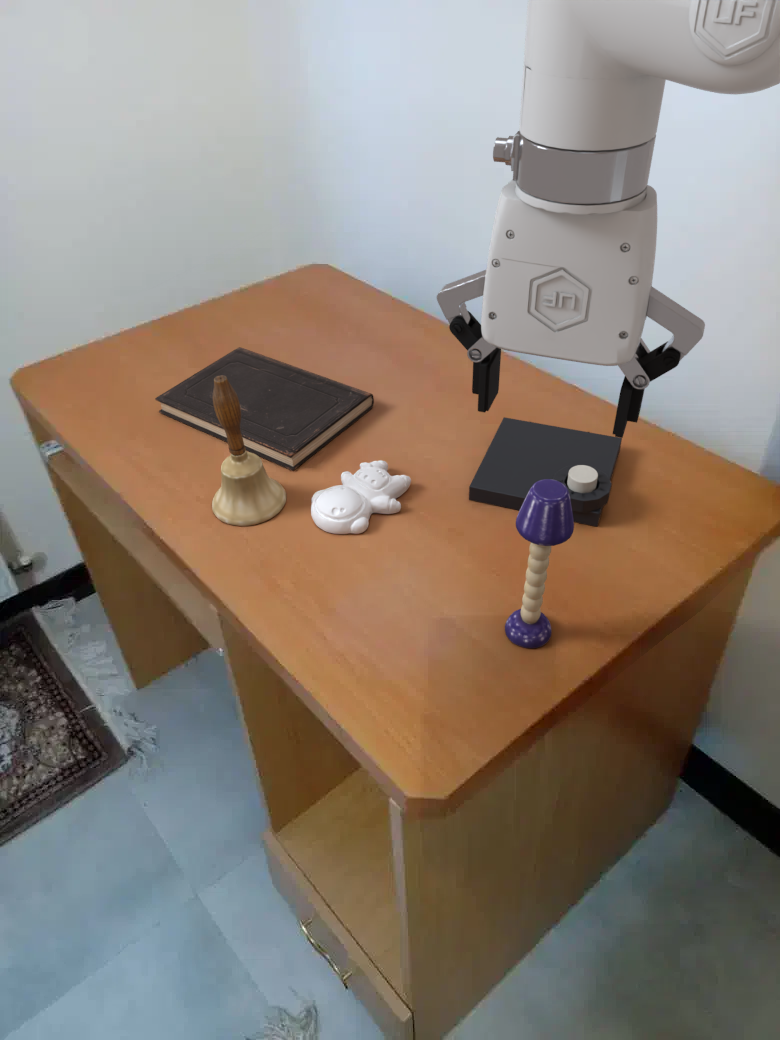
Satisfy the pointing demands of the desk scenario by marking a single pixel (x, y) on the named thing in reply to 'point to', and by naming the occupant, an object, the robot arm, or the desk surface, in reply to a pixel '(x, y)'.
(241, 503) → the hand bell
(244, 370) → the hardcover book
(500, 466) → the scale
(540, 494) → the toy lamp
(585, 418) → the desk surface
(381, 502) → the white flat figure
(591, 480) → the button
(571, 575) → the desk surface
